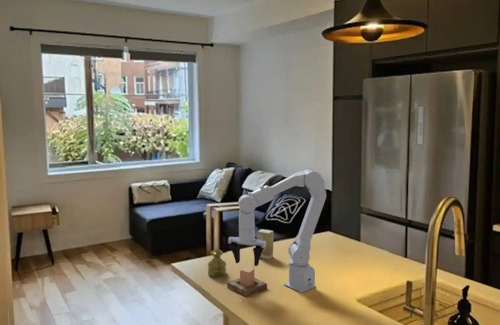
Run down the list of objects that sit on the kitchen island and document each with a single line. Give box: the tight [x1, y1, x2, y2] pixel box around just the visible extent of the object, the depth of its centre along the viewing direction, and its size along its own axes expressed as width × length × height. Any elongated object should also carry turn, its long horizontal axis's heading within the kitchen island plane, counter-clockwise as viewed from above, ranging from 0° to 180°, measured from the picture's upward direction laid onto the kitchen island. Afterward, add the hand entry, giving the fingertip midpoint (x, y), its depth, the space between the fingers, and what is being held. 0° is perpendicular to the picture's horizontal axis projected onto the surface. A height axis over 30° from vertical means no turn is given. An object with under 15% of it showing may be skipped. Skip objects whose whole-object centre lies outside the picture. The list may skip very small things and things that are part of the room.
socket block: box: [226, 277, 268, 297], centre depth 164 cm, size 10×10×2 cm
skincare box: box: [256, 228, 275, 260], centre depth 197 cm, size 6×4×12 cm
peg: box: [239, 267, 255, 287], centre depth 164 cm, size 4×4×7 cm
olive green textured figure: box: [207, 248, 227, 278], centre depth 178 cm, size 7×7×10 cm
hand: (247, 263), depth 163 cm, fingers open, 7 cm apart
